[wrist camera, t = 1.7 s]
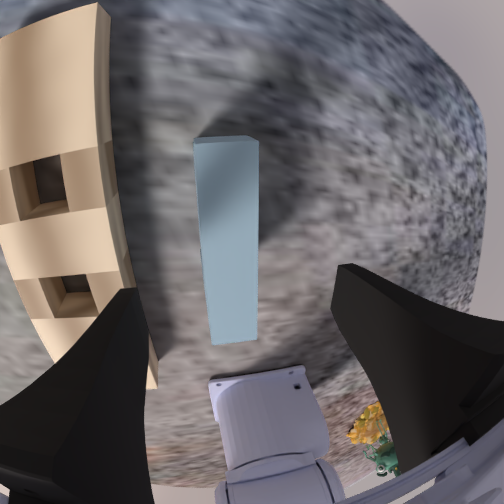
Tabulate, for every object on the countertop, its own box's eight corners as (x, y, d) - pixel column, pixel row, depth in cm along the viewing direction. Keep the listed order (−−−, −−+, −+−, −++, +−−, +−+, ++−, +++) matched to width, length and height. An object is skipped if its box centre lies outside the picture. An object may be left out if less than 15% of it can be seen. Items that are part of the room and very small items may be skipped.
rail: (111, 17, 11) (97, 2, 8) (158, 361, 23) (157, 388, 21) (3, 53, 10) (-21, 50, 7) (77, 364, 22) (71, 389, 19)
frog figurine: (346, 449, 45) (372, 507, 32) (338, 406, 38) (376, 484, 24) (389, 428, 45) (420, 482, 32) (393, 379, 38) (440, 448, 25)
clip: (233, 129, 16) (259, 140, 11) (237, 276, 21) (257, 339, 15) (192, 131, 16) (194, 144, 10) (203, 279, 20) (212, 345, 15)
